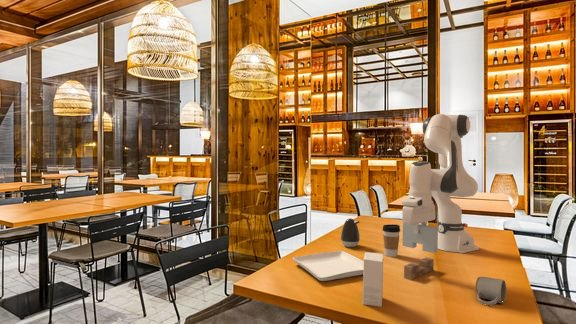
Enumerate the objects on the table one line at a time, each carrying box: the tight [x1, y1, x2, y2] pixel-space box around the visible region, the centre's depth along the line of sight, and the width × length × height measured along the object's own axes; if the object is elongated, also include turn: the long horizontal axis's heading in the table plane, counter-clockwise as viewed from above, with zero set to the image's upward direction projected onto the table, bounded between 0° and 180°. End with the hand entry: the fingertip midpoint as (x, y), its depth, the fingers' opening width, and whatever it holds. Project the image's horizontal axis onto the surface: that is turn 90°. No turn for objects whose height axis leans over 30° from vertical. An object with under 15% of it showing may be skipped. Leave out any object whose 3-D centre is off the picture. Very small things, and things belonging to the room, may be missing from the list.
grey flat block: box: [402, 222, 439, 254], centre depth 140 cm, size 14×3×10 cm, turn 39°
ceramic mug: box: [474, 276, 507, 306], centre depth 115 cm, size 11×8×8 cm
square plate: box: [292, 250, 364, 282], centre depth 146 cm, size 27×27×4 cm
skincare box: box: [362, 251, 384, 308], centre depth 114 cm, size 8×7×16 cm
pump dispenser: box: [340, 218, 361, 248], centre depth 183 cm, size 10×10×15 cm
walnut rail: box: [403, 256, 435, 281], centre depth 140 cm, size 18×3×5 cm, turn 129°
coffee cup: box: [382, 224, 401, 258], centre depth 166 cm, size 8×8×15 cm
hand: (419, 233), depth 140 cm, fingers closed on grey flat block, 3 cm apart
